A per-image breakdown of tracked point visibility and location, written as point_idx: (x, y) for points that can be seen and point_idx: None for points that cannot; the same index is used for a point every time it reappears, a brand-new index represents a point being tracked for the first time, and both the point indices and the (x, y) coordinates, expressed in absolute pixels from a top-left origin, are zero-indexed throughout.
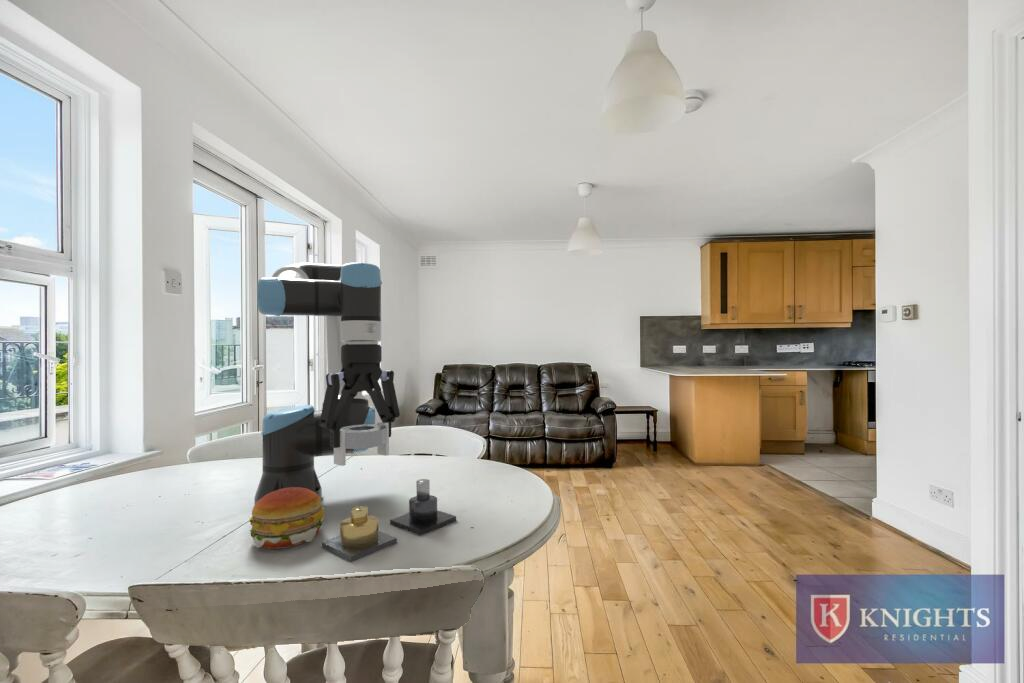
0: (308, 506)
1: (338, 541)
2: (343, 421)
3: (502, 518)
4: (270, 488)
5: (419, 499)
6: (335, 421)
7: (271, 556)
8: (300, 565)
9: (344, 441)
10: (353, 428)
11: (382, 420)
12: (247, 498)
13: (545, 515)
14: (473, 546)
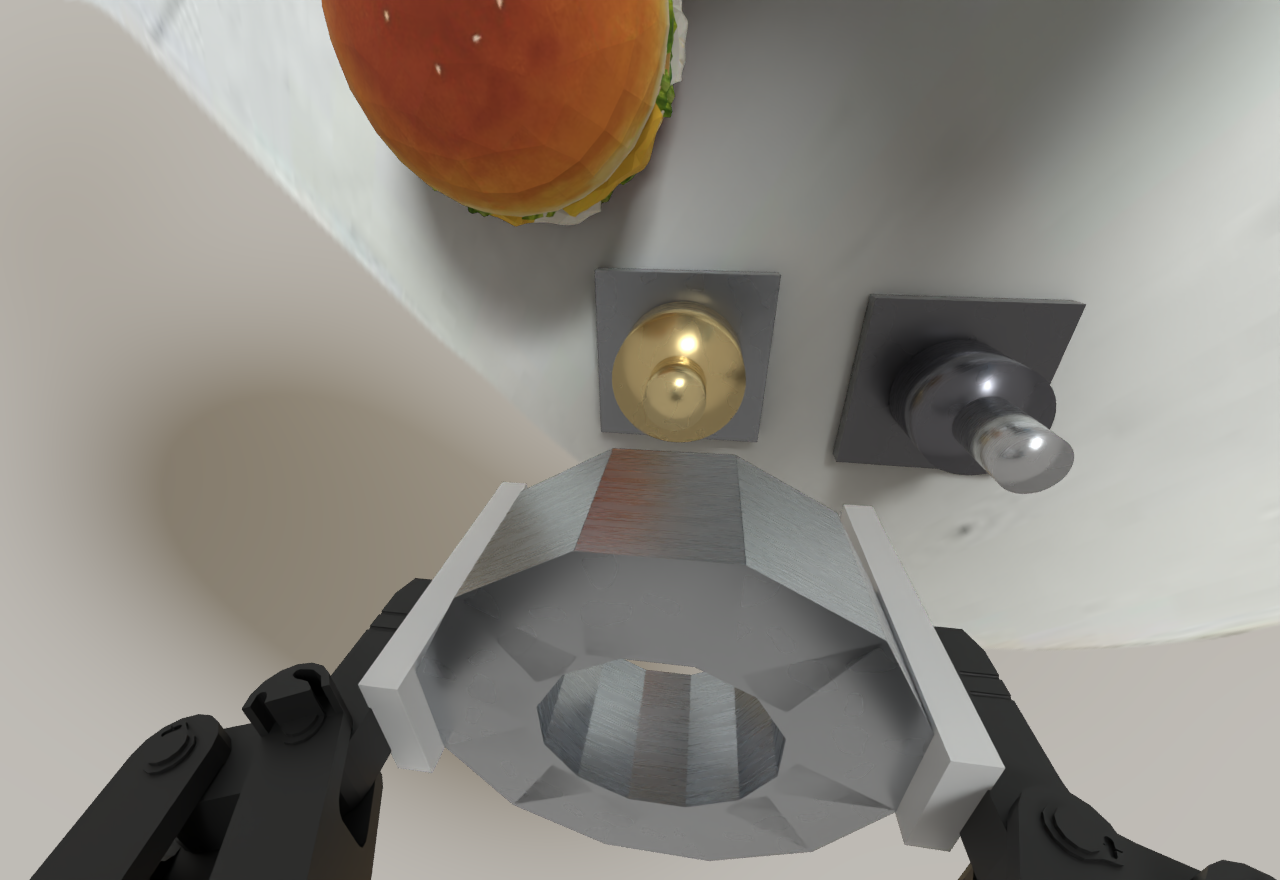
0: (538, 204)
1: (633, 314)
2: (366, 867)
3: (1075, 562)
4: None
5: (955, 432)
6: (310, 796)
7: None
8: (506, 331)
9: None
10: (630, 647)
11: (993, 814)
12: None
13: (1142, 640)
14: None
